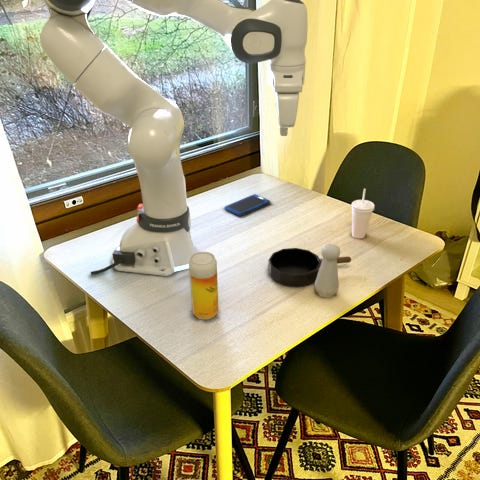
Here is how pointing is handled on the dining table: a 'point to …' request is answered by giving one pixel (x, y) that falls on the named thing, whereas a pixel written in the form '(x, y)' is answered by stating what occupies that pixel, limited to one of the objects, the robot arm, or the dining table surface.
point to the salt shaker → (328, 272)
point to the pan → (296, 267)
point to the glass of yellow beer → (203, 285)
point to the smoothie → (361, 216)
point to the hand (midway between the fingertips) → (283, 134)
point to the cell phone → (247, 205)
